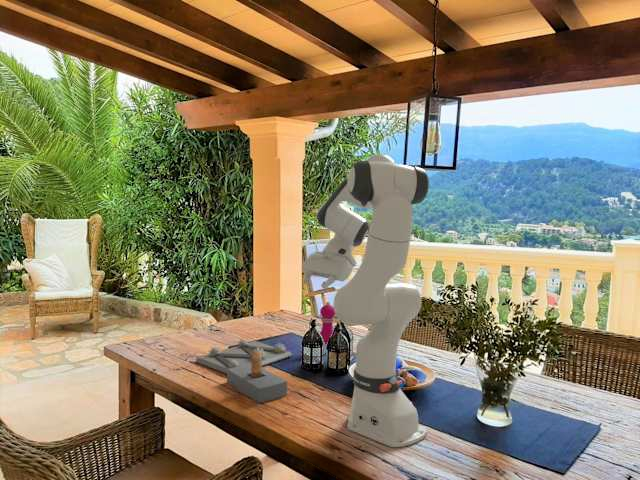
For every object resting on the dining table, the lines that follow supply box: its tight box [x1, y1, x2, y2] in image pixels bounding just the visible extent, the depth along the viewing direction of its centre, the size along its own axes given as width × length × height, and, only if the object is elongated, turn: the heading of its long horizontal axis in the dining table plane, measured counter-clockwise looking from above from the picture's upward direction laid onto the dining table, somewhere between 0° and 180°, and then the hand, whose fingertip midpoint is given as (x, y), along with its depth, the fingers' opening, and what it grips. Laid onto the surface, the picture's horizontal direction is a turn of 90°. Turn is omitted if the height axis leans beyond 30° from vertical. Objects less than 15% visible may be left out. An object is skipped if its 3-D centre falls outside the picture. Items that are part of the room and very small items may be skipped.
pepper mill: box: [319, 301, 336, 344], centre depth 201 cm, size 7×7×20 cm
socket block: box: [226, 364, 288, 404], centre depth 162 cm, size 20×10×4 cm, turn 39°
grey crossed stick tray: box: [195, 338, 293, 375], centre depth 189 cm, size 30×22×7 cm
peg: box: [251, 351, 263, 379], centre depth 162 cm, size 3×3×12 cm
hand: (314, 285), depth 173 cm, fingers open, 8 cm apart
